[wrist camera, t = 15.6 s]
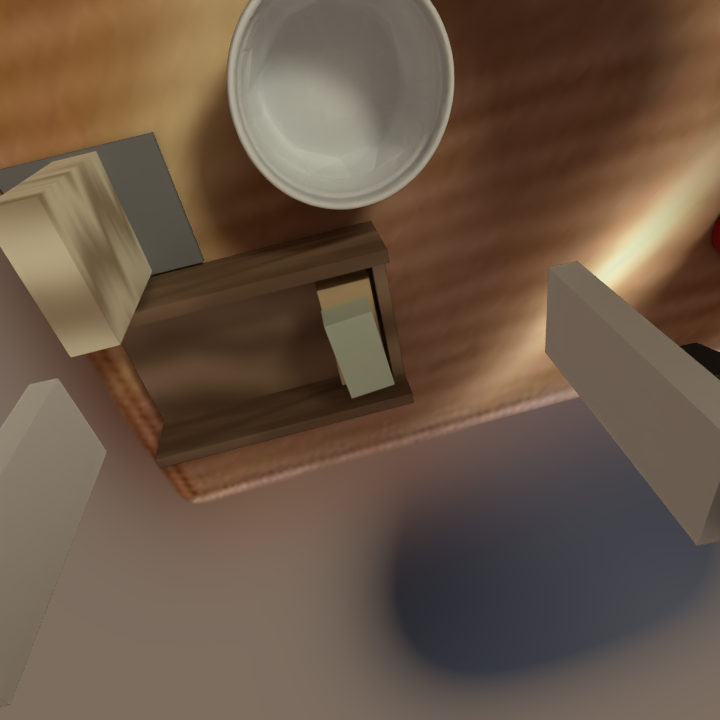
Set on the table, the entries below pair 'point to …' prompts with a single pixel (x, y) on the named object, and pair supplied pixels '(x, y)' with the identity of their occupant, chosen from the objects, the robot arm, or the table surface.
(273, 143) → the ramekin
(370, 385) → the offcut top
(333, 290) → the offcut low
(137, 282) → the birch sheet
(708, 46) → the table surface
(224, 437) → the tray
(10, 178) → the mat
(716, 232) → the plastic cup
